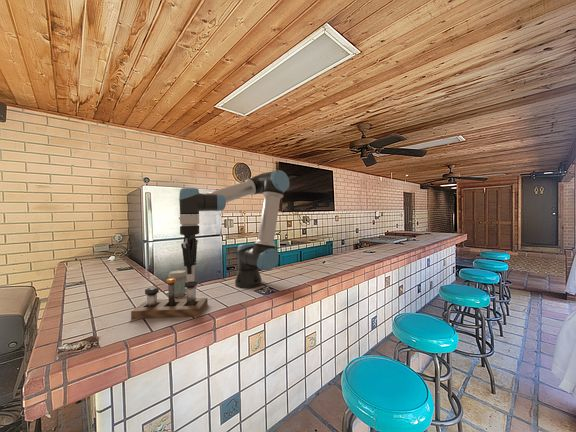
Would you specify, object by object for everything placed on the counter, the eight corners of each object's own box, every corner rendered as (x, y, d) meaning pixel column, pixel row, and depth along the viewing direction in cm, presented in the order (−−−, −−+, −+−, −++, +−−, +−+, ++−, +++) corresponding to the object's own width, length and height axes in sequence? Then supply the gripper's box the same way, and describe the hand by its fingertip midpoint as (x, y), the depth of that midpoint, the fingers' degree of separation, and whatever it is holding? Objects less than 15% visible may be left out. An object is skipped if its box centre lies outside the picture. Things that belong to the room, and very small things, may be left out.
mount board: (207, 304, 106) (207, 297, 106) (199, 316, 94) (198, 308, 94) (147, 306, 104) (147, 299, 104) (131, 318, 92) (131, 311, 92)
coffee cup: (164, 297, 116) (164, 272, 116) (179, 291, 124) (179, 268, 123) (176, 299, 112) (175, 274, 112) (191, 294, 120) (190, 270, 119)
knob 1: (161, 309, 101) (160, 286, 101) (155, 314, 96) (154, 290, 96) (149, 309, 101) (148, 287, 101) (142, 314, 96) (142, 291, 96)
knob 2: (199, 301, 102) (198, 279, 102) (195, 306, 97) (194, 283, 97) (187, 302, 102) (187, 280, 102) (182, 306, 97) (182, 283, 97)
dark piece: (177, 302, 101) (177, 278, 101) (174, 305, 98) (173, 280, 97) (169, 302, 101) (168, 278, 101) (165, 305, 97) (165, 280, 97)
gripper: (186, 224, 105) (187, 277, 106) (173, 226, 92) (174, 286, 93) (203, 224, 106) (204, 276, 106) (193, 225, 93) (194, 285, 93)
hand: (190, 281), depth 99 cm, fingers closed
